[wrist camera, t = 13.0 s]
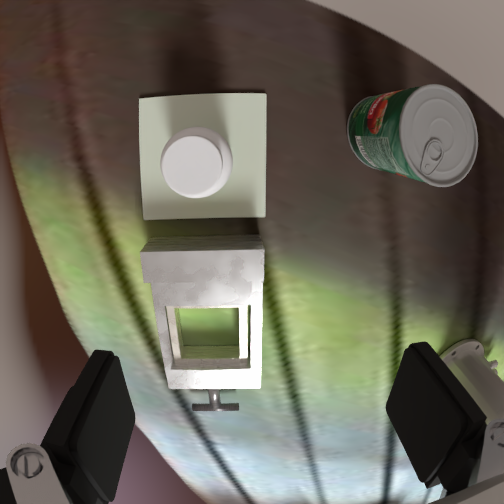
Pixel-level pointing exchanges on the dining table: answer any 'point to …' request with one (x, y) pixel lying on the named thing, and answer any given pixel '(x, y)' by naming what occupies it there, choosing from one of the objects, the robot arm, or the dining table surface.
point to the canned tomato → (416, 134)
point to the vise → (207, 296)
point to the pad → (230, 128)
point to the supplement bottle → (196, 162)
